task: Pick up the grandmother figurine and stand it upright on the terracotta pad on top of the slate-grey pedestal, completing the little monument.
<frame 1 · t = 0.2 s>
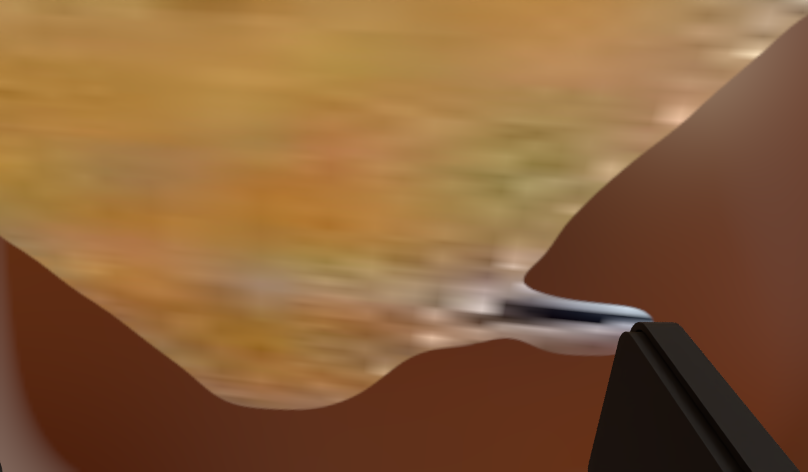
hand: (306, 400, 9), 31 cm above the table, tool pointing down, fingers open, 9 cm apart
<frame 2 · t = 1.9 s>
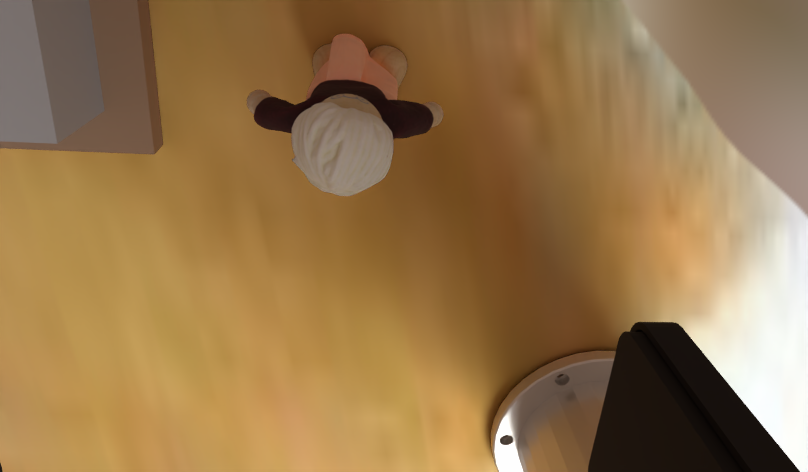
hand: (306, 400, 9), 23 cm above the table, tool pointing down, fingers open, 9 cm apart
grandmother figurine: (348, 71, 30), on the table
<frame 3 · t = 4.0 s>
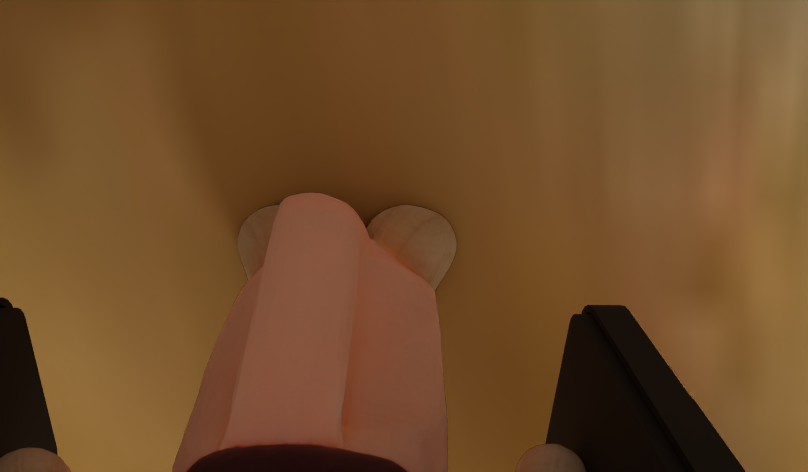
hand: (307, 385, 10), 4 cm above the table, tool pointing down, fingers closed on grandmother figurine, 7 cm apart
grandmother figurine: (321, 256, 13), on the table, touching gripper
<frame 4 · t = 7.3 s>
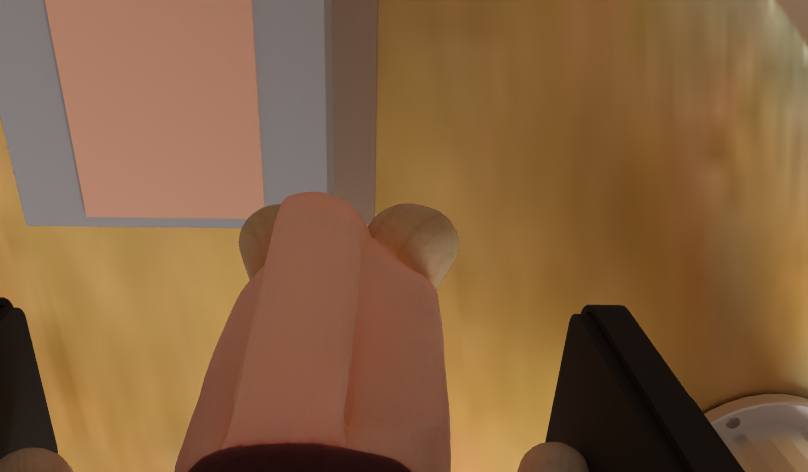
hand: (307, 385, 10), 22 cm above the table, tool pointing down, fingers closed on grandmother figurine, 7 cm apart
grandmother figurine: (323, 256, 13), point 18 cm above the table, touching gripper
plinth: (202, 50, 29), on the table
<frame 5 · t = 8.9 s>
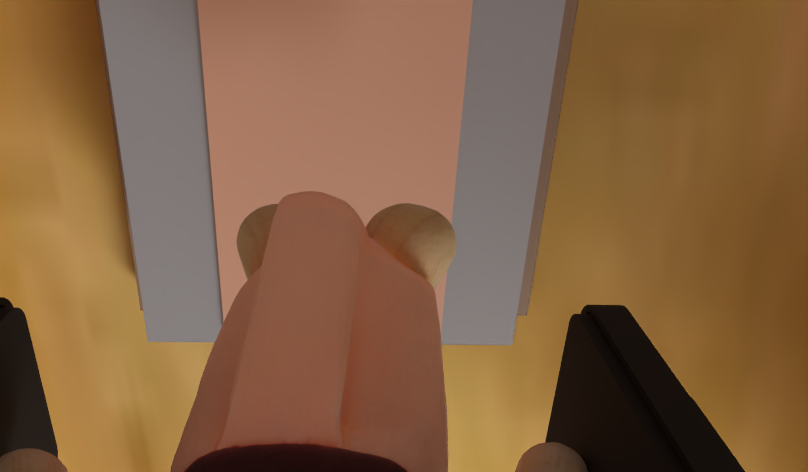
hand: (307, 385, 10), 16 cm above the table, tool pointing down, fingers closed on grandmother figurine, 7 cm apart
grandmother figurine: (321, 255, 13), point 12 cm above the table, touching gripper
plinth: (341, 114, 24), on the table
when the fingers open (12 cm above the table, at t = 10.3 s): grandmother figurine stays where it is, resting on plinth.
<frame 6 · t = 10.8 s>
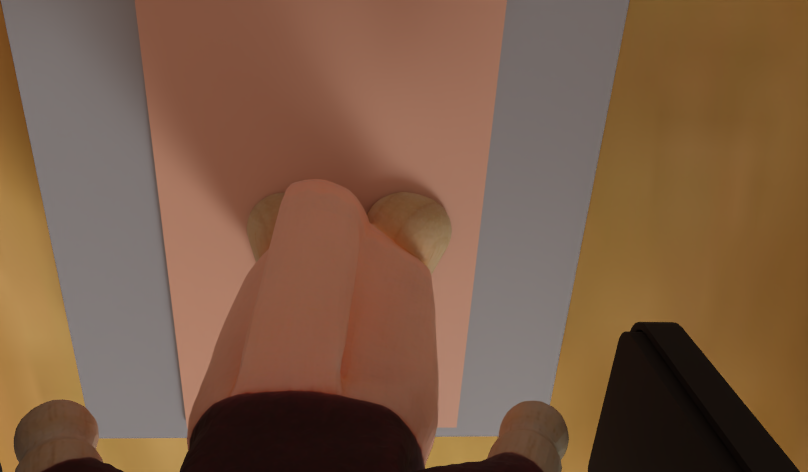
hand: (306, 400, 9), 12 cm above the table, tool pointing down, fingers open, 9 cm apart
grandmother figurine: (325, 242, 14), point 7 cm above the table, touching plinth
plinth: (334, 147, 20), on the table
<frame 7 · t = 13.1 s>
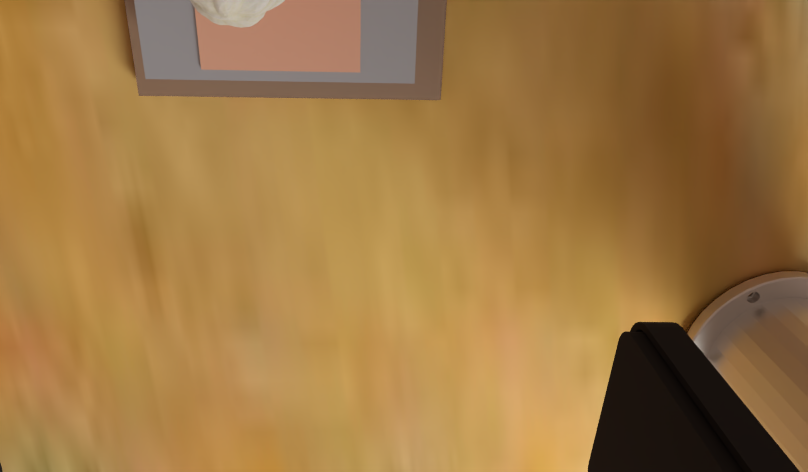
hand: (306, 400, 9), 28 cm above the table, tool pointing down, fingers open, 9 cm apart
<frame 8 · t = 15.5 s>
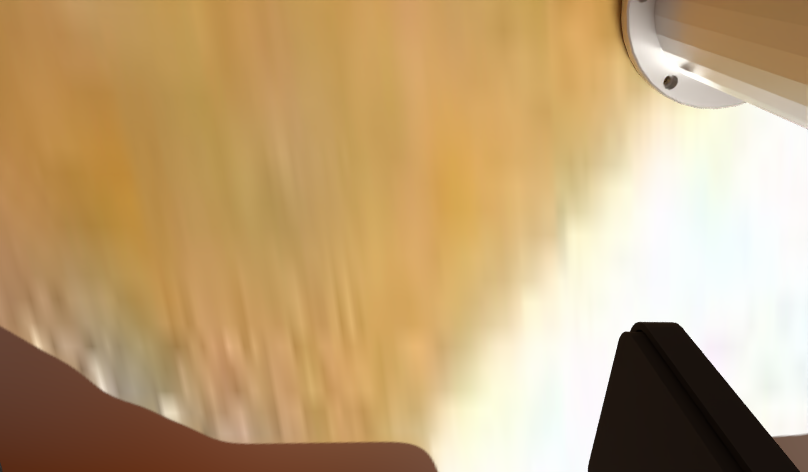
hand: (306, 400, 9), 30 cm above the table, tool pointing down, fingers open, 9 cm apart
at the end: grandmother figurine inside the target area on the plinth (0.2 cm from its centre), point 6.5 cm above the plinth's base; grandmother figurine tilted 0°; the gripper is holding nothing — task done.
